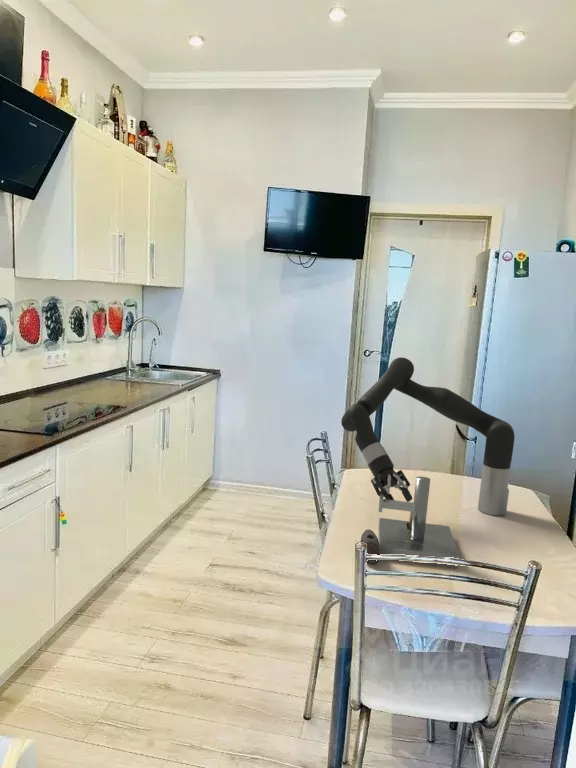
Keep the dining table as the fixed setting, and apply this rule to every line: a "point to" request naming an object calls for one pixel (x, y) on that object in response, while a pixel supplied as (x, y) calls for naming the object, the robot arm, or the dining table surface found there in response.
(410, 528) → the yellow rectangular block
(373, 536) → the perforated stone tool
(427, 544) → the rosette post
